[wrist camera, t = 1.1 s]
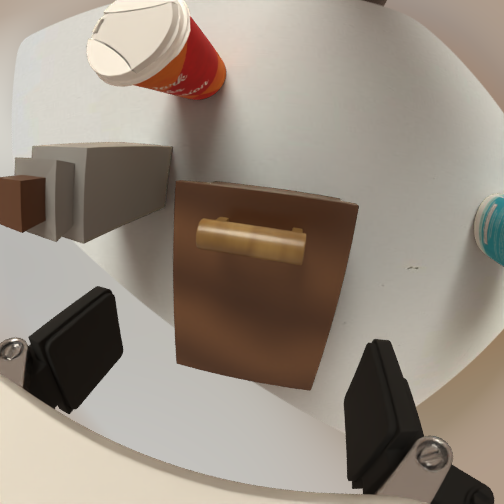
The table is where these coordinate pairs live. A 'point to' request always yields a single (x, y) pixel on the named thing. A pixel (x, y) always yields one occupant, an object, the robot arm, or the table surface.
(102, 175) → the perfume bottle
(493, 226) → the pill bottle
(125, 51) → the paper cup
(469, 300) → the table surface
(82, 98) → the table surface
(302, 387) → the chest lid
